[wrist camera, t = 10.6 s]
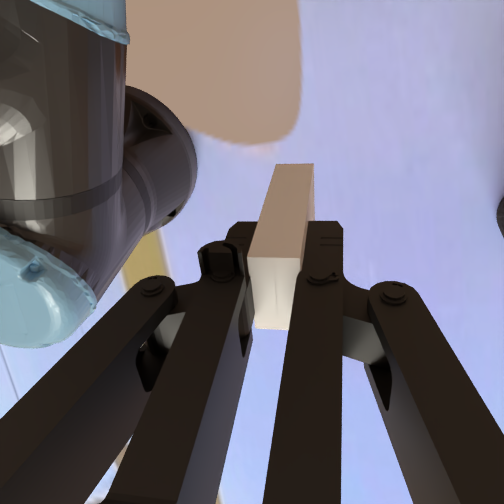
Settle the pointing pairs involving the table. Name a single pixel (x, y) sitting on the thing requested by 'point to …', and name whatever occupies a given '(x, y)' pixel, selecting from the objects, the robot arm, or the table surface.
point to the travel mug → (501, 216)
